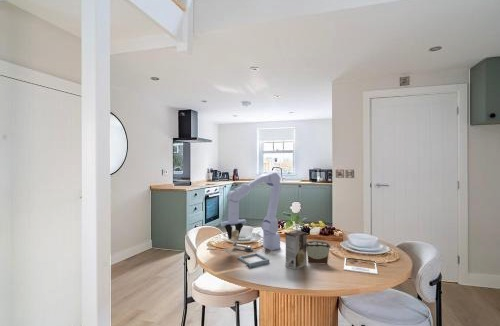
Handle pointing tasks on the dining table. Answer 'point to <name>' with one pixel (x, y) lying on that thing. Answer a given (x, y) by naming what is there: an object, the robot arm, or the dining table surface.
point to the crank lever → (241, 245)
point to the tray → (254, 264)
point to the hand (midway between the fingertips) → (233, 237)
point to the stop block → (234, 235)
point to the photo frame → (360, 269)
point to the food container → (318, 252)
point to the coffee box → (296, 249)
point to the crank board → (238, 250)
